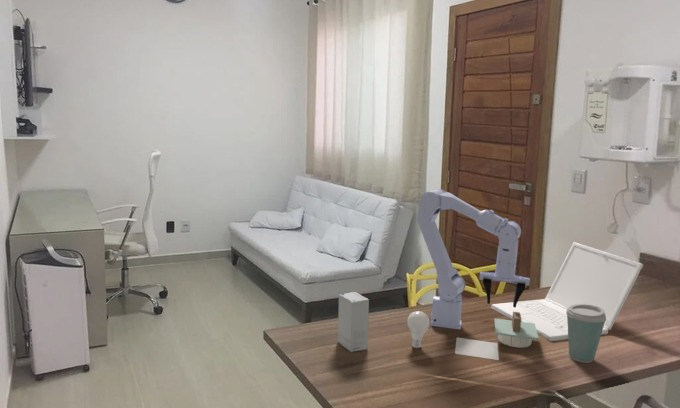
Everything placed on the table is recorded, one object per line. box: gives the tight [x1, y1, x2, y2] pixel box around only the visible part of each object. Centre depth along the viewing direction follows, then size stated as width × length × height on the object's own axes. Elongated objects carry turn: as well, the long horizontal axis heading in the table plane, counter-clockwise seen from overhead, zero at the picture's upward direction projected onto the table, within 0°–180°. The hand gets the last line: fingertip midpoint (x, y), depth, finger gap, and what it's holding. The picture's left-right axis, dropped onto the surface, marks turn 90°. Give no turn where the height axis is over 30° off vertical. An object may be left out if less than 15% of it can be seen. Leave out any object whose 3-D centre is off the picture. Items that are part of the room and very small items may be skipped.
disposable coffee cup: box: [566, 304, 606, 364], centre depth 162 cm, size 11×11×15 cm
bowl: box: [497, 335, 533, 348], centre depth 172 cm, size 10×10×4 cm
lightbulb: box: [406, 310, 431, 349], centre depth 163 cm, size 6×6×11 cm
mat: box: [454, 337, 500, 361], centre depth 165 cm, size 12×12×1 cm
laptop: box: [490, 241, 644, 342], centre depth 192 cm, size 30×35×23 cm
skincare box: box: [337, 291, 370, 353], centre depth 162 cm, size 8×6×15 cm
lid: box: [494, 312, 539, 341], centre depth 171 cm, size 12×12×5 cm
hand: (501, 304), depth 174 cm, fingers open, 7 cm apart
